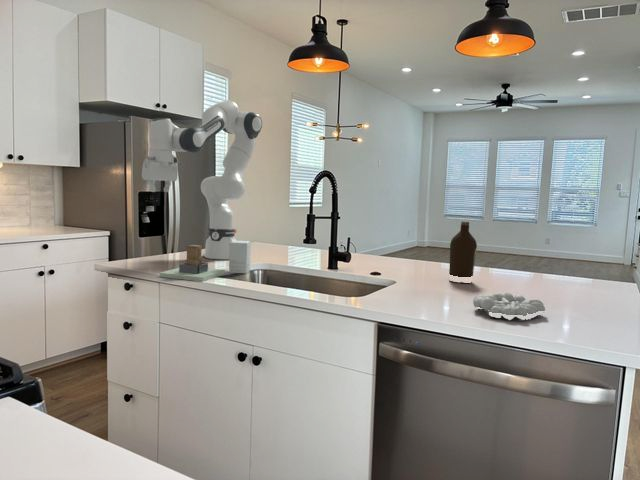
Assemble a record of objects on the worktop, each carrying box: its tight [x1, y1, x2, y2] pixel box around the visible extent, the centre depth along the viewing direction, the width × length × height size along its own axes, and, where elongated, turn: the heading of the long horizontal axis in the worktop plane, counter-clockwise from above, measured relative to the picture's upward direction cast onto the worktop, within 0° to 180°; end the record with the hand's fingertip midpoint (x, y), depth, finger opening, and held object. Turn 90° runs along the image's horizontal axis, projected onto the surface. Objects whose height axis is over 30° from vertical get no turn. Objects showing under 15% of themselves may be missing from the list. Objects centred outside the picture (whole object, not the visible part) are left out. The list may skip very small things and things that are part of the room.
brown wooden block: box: [186, 244, 202, 266], centre depth 191 cm, size 4×4×10 cm
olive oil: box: [448, 221, 478, 277], centre depth 205 cm, size 11×11×25 cm
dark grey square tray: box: [178, 261, 209, 274], centre depth 192 cm, size 8×8×3 cm
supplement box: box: [228, 240, 252, 274], centre depth 203 cm, size 7×7×13 cm
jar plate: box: [159, 267, 226, 282], centre depth 192 cm, size 18×18×2 cm
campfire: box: [472, 292, 546, 316], centre depth 155 cm, size 22×21×6 cm
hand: (159, 191), depth 204 cm, fingers open, 8 cm apart
